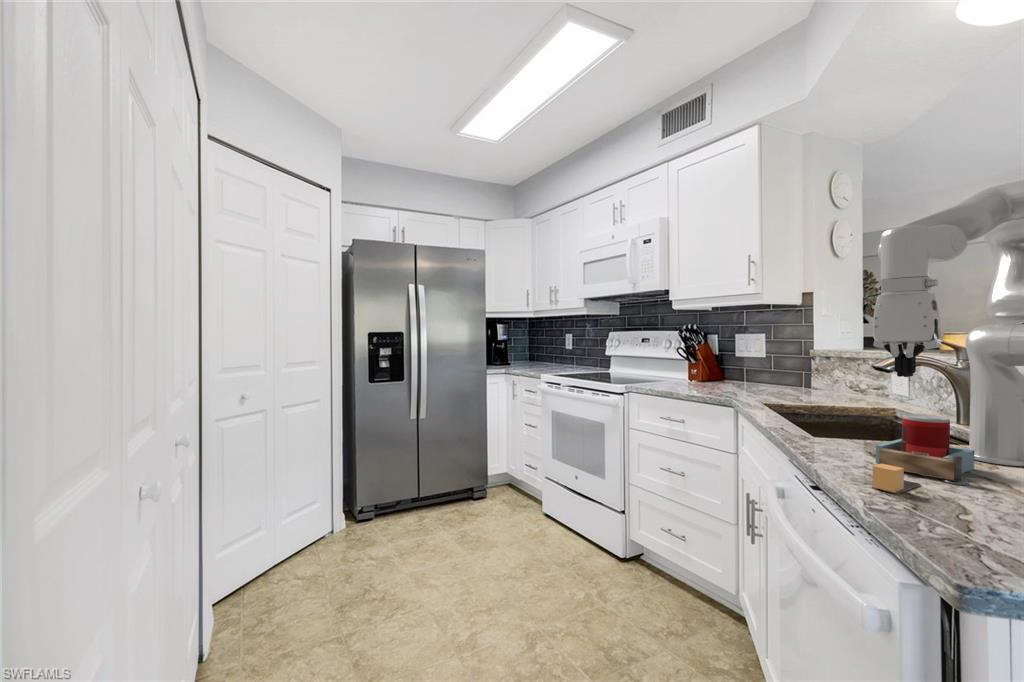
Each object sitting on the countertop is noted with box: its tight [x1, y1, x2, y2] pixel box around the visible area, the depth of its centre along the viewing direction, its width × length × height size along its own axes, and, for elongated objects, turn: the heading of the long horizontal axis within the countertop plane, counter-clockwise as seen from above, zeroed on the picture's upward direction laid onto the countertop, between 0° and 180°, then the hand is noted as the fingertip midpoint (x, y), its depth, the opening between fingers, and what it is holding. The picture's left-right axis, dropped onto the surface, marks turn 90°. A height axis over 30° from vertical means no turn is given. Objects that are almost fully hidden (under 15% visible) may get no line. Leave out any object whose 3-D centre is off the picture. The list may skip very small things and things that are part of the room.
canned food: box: [901, 413, 951, 458], centre depth 103 cm, size 8×8×11 cm
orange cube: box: [872, 463, 905, 492], centre depth 87 cm, size 4×4×4 cm
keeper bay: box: [875, 438, 975, 474], centre depth 103 cm, size 13×13×4 cm
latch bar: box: [878, 448, 963, 481], centre depth 96 cm, size 13×2×5 cm, turn 35°
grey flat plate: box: [871, 479, 922, 495], centre depth 89 cm, size 10×4×1 cm, turn 119°
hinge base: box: [941, 478, 970, 486], centre depth 92 cm, size 4×4×1 cm
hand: (905, 376), depth 96 cm, fingers closed
